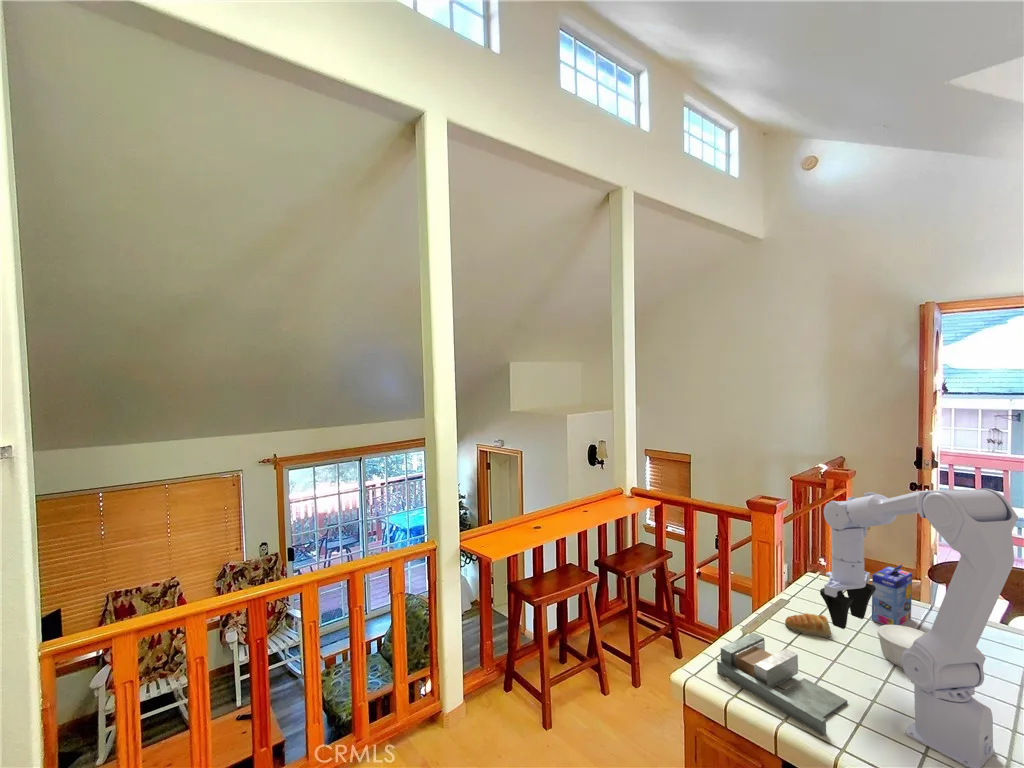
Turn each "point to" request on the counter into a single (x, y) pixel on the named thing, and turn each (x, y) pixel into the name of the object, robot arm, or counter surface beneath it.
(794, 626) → the pastry
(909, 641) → the ramekin
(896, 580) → the ink cartridge box
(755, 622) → the counter surface
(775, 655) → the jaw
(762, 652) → the block
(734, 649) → the vise body
